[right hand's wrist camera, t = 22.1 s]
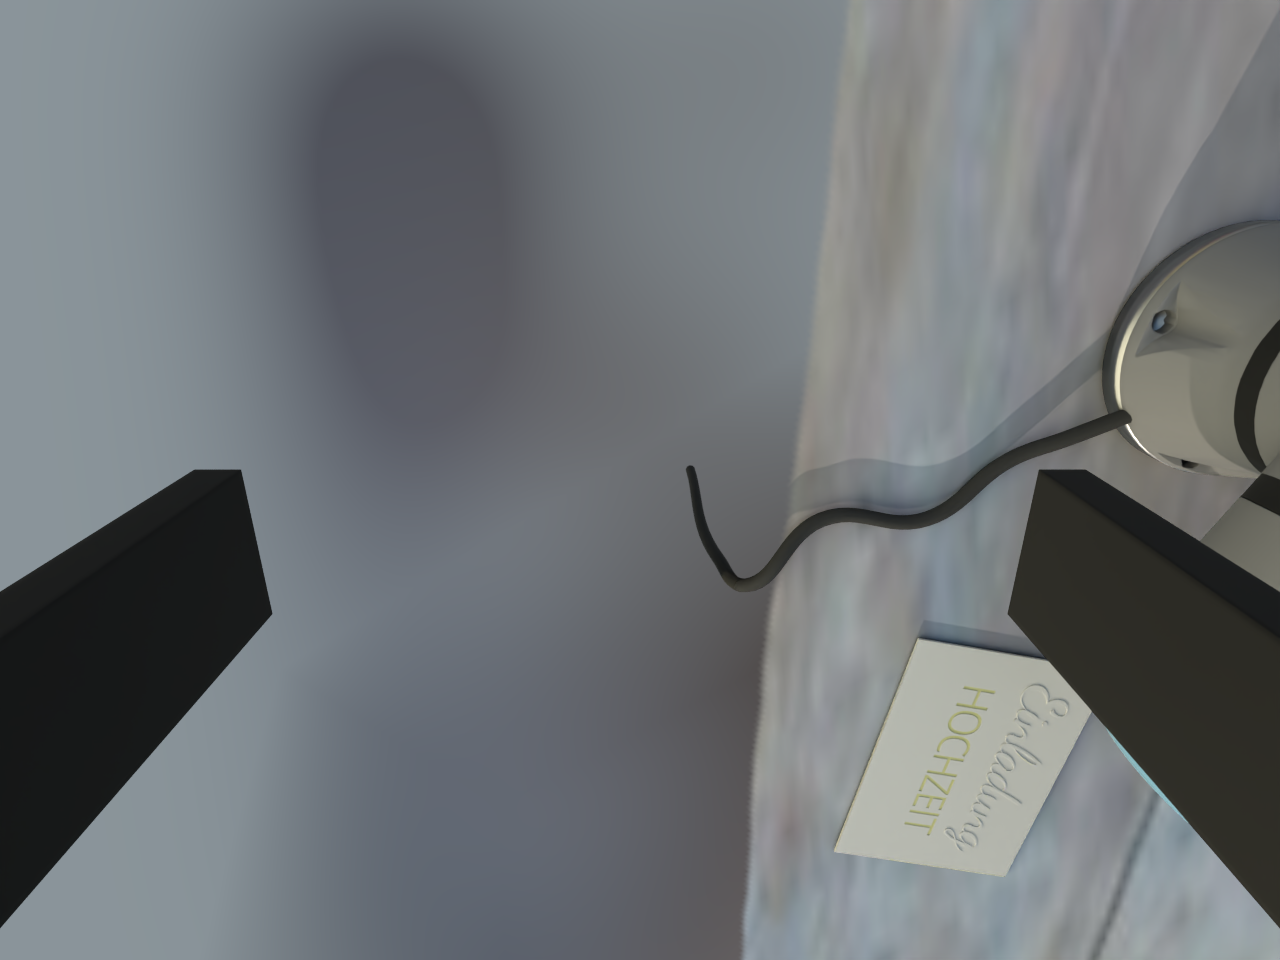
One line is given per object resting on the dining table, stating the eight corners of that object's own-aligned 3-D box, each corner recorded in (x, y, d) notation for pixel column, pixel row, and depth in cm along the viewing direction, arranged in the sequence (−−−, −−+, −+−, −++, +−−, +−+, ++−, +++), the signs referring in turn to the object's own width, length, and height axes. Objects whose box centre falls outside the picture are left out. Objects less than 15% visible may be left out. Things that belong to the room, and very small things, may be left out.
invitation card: (919, 639, 53) (1112, 672, 54) (918, 637, 53) (1110, 670, 54) (834, 852, 61) (1005, 877, 62) (833, 849, 61) (1003, 874, 62)
